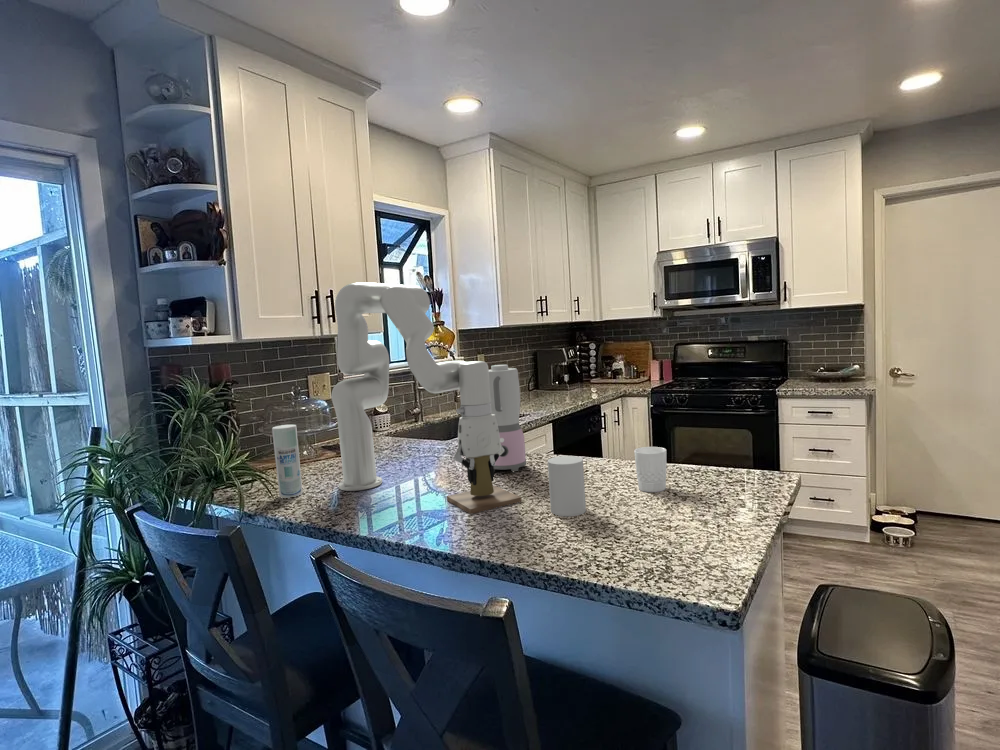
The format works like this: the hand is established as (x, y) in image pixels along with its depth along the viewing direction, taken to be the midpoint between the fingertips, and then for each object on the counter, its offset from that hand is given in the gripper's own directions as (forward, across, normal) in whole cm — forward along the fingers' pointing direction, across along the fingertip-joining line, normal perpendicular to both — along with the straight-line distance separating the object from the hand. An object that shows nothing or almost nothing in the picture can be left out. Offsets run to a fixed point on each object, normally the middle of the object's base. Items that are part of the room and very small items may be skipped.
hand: (481, 481), depth 145 cm
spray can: (+6, -40, +43) cm, 59 cm away
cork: (+3, 0, 0) cm, 3 cm away
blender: (+5, +20, +24) cm, 32 cm away
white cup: (+5, +38, -20) cm, 43 cm away
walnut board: (+5, 0, 0) cm, 5 cm away
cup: (+5, +12, -20) cm, 24 cm away
